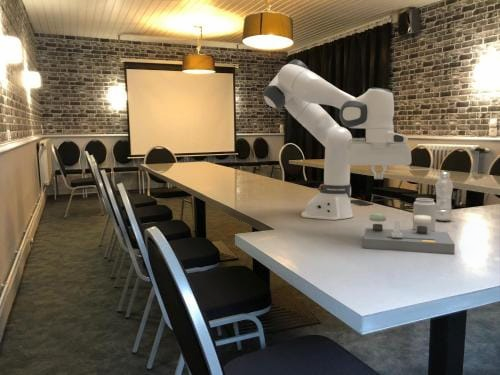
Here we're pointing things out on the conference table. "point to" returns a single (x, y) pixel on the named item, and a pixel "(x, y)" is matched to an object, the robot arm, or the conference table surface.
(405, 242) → the control panel
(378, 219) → the sage button
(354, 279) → the conference table surface
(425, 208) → the can
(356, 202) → the phone
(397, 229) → the paddle lever
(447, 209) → the plastic bottle
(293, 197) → the conference table surface
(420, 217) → the cream button
